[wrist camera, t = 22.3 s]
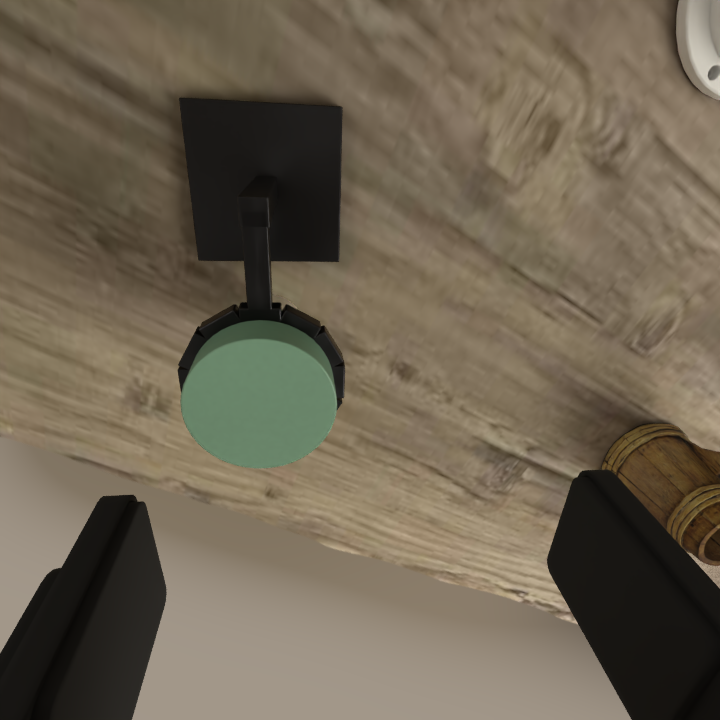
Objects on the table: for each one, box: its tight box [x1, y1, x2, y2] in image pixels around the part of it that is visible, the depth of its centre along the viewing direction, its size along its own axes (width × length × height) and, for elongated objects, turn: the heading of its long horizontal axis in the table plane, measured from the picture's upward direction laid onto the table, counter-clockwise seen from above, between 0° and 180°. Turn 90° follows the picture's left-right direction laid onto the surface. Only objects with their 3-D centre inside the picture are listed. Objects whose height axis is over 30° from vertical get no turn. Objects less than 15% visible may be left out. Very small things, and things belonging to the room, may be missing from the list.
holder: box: [178, 97, 345, 411], centre depth 27 cm, size 10×18×12 cm, turn 178°
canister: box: [181, 294, 337, 468], centre depth 27 cm, size 8×8×11 cm
